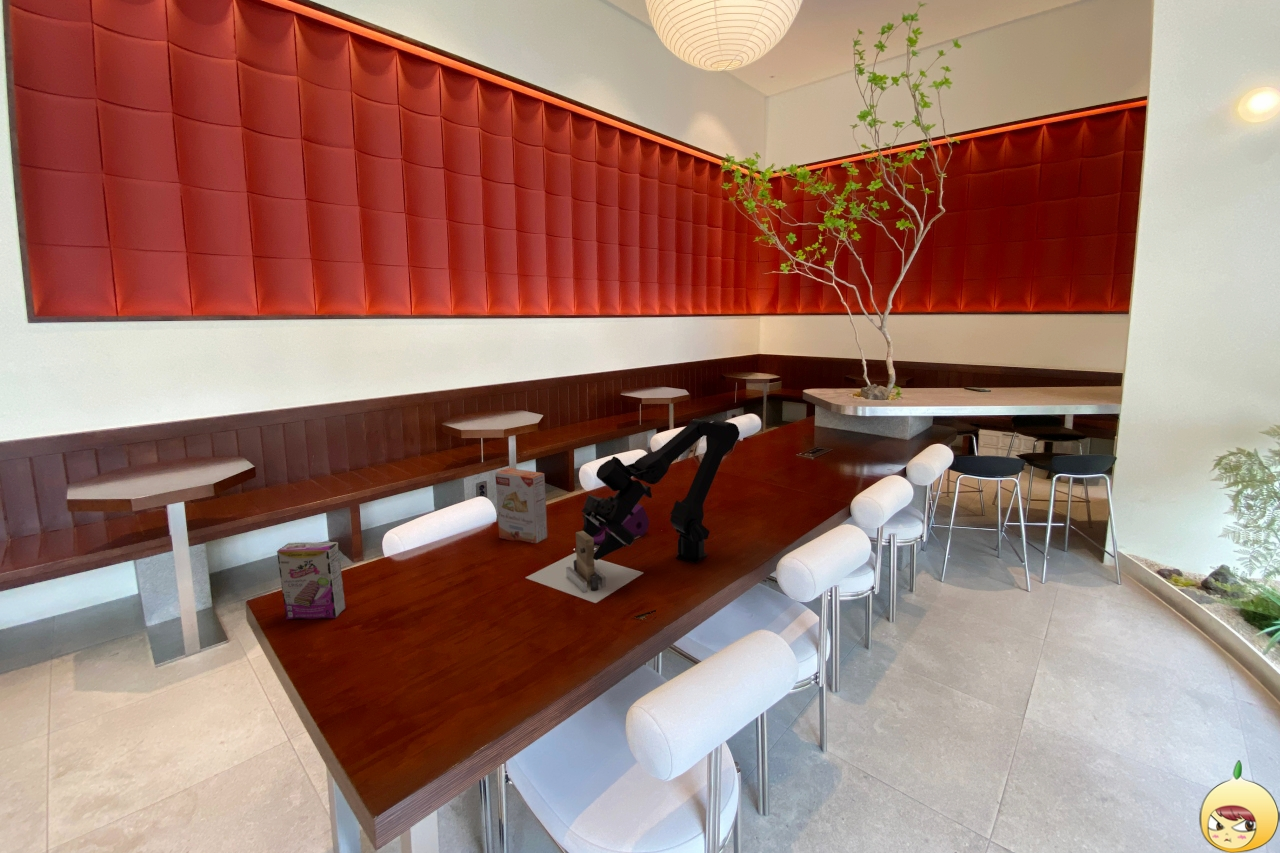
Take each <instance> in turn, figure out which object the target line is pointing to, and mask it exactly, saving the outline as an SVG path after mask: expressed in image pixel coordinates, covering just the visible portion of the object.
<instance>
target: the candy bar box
mask: <svg viewBox="0 0 1280 853" xmlns="http://www.w3.org/2000/svg"><path fill="white" fill-rule="evenodd" d="M339 548H340V546H339V542H338V541H331V542H330V541H329V542H321V541H320V542H288V543H286V544H285V545H284V546H282V547H281V548H279V549H278V550H277V551H276V553H277V560H278V561H277V562H278V570H279V577H280V582H281V590H282V597H283V605H284V606H283V607H284V612H285V619H286V620H305V619H306V620H307V619H308V620H309V619H311V620H312V619H336V618H338V617H339V615H340V614H341V613H342V612H343V611H344V610H345V609H346V602H345V600H346V599H345V592H344V591H345V590H344V584H343V576H342V567H341V566H342V565H341V558H340V557H341V556H340V549H339Z"/></svg>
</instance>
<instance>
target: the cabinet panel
mask: <svg viewBox="0 0 1280 853" xmlns="http://www.w3.org/2000/svg"><path fill="white" fill-rule="evenodd" d="M574 560H577V558H576V552H573V553H572V554H569V555H568V556H565V557H564V558H561V559H559V560H558V561H556V562H554V563H552V564H549V565H547V566H545V567H543V568H541V569H539V570H537V571H536V572H534V573H531V574H530V575H528V576H525V579H527V580H530V581H533V582H535V583H539V584H541V585H544V586H546V587H549V588H551V589H552V588H553V589H554V590H558V591H560V592H563V593H565V594H569V595H572V596H575V597H578V598H580V599H583V600H586V601H588V602H591V603H594V604H597V603H599V602H601V601H602V600H603V599H605V598H606V597H608V596H610V595H611V594H612V593H615V592H616V591H618V590H619V589H620V588H623V586H625V585H627V584H629V583H630V582H632V581H633V580H635V579H636V578H638V577H640V576H641V575H643V574H644V572H643V571H639V570H635V569H633V568H629V567H627V566H624V565H619V564H616V563H613V562H609V561H606V560H602V559H601V558H600V559H598V560H595V559H594V567H595V568H596V569H597V570H598V571H599V572H601V573H602V574H603V575H604V576H605V577H606V587H601V586H600V585H599V584H598V590H597V591H591V586H590V587H587V592H584V593H583V592H582V591H581V590H580V589H579V588H578V587H577V586H576V585H575V584H574V583H573V582H572V581H571V580H569V579H568V578H567V577H566V567H569V566H570V567H571V568H572V569H573V570H574Z"/></svg>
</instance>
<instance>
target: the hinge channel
mask: <svg viewBox="0 0 1280 853" xmlns="http://www.w3.org/2000/svg"><path fill="white" fill-rule="evenodd" d="M594 568H595V567H594ZM566 577H567V578H568V579H569V580H571V581H572V582H573V583H574V584H575V585H576V586H577V587H578V588H579V589H580V590H581V591H582V592H583V593H584V592H587V581H585V580H584V579H583V578H582V577H581V576H580V575H579V574H578V573H577V560H574V570H573V569H572V568H571V567H570V566H569V567H566ZM590 580H591V591H597V590H598V584H599V585H600V586H601V587H606V577H605V576H604V575H603V574H602V573H601V572H599V571H598V570H597V569H596V568H595V574H592V575H590Z"/></svg>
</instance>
